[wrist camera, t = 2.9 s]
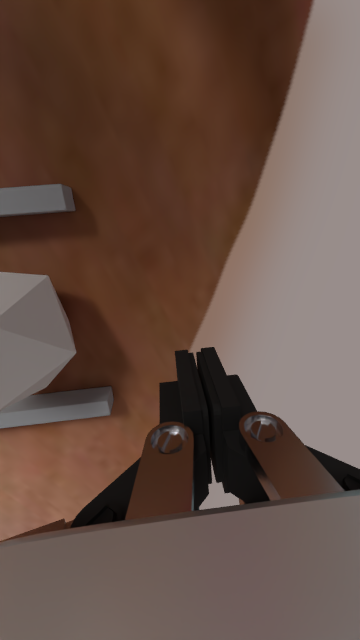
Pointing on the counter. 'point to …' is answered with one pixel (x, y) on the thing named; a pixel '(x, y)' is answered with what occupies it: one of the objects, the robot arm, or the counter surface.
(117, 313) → the counter surface
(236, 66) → the counter surface
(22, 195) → the track
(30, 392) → the die
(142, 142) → the counter surface
